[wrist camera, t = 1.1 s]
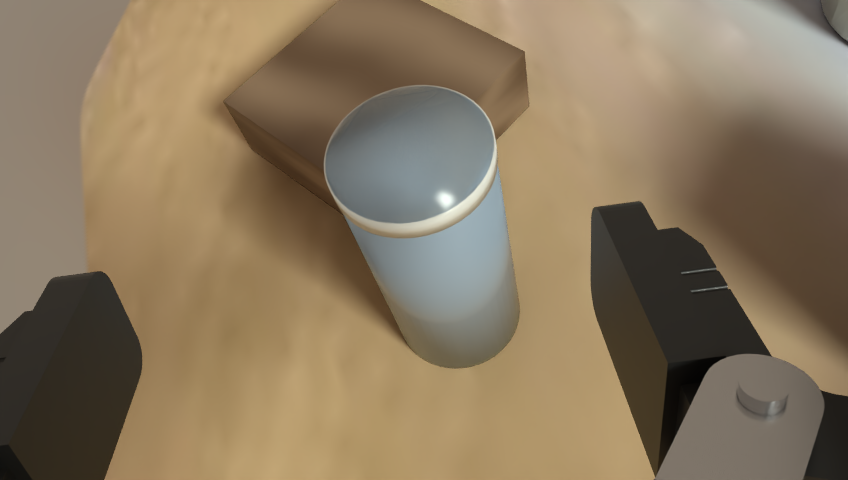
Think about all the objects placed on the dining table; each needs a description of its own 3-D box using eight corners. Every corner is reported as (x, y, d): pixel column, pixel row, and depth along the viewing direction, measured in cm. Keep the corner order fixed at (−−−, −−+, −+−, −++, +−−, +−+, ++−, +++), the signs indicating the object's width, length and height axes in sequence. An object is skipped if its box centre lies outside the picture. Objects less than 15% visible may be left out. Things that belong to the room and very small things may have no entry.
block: (384, 28, 45) (368, -25, 42) (529, 105, 40) (524, 51, 37) (251, 148, 42) (223, 101, 38) (390, 249, 37) (371, 203, 33)
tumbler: (452, 237, 36) (403, 61, 26) (546, 300, 34) (532, 132, 24) (373, 321, 35) (289, 169, 25) (465, 394, 32) (413, 257, 22)
